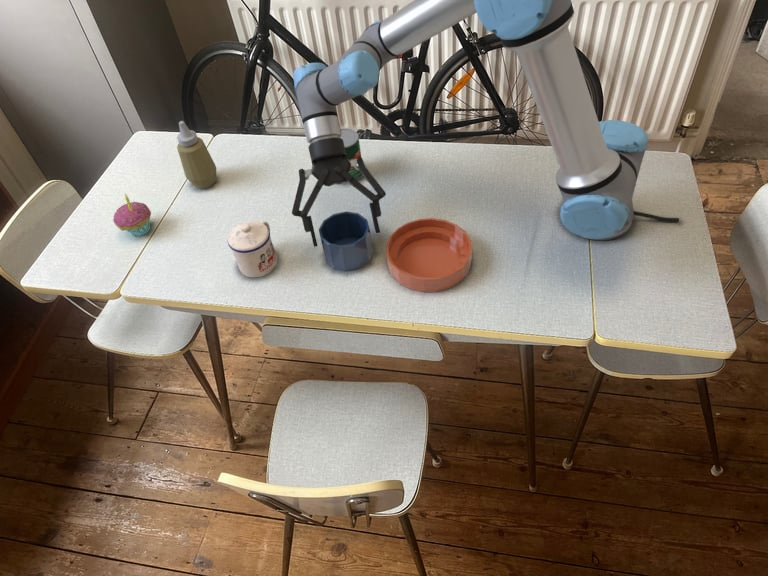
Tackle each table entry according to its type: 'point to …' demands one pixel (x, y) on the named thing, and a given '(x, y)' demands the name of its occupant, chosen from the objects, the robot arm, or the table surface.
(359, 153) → the canned tomato
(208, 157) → the squeeze bottle
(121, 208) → the cupcake
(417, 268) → the lower bowl
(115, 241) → the table surface
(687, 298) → the table surface
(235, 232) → the teacup with lid
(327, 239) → the blue faceted pot
